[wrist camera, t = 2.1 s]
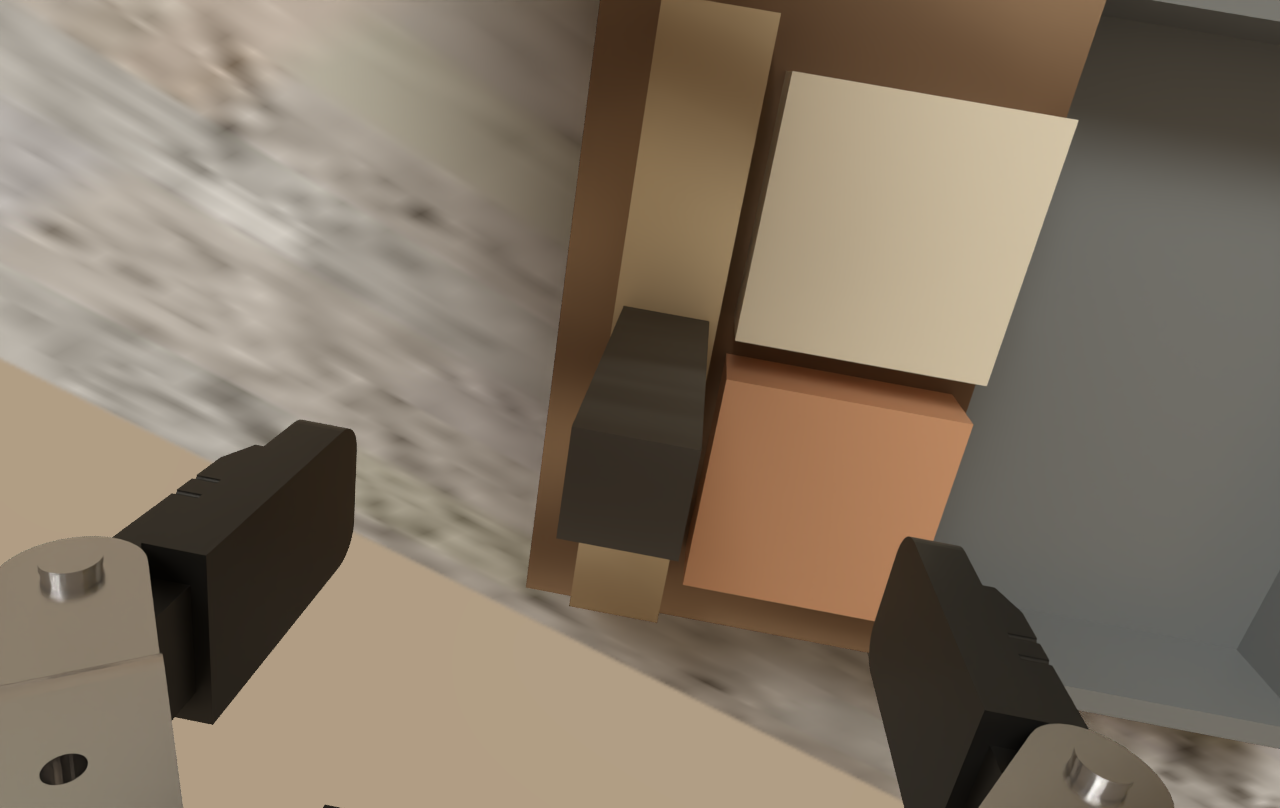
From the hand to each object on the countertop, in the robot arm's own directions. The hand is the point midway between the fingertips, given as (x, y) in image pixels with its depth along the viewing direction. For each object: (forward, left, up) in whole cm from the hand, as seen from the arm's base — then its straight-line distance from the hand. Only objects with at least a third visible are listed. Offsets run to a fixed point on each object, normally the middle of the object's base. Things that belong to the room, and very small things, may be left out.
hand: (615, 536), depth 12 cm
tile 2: (-4, +5, -11) cm, 12 cm away
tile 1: (+3, +5, -11) cm, 12 cm away
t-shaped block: (0, 0, -11) cm, 11 cm away
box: (0, +15, -16) cm, 22 cm away
